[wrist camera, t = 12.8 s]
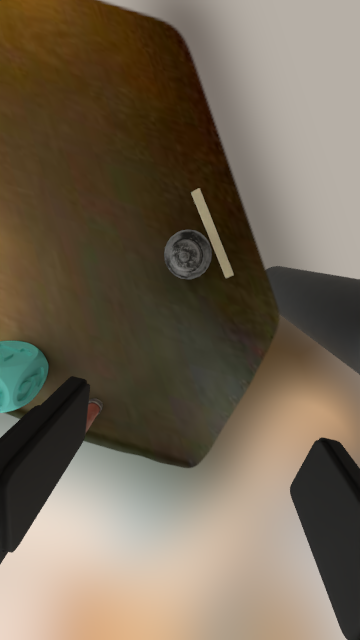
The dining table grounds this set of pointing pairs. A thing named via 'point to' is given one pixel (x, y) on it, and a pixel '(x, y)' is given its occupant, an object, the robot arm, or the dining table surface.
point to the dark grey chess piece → (188, 254)
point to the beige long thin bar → (212, 232)
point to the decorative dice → (20, 374)
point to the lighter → (93, 411)
